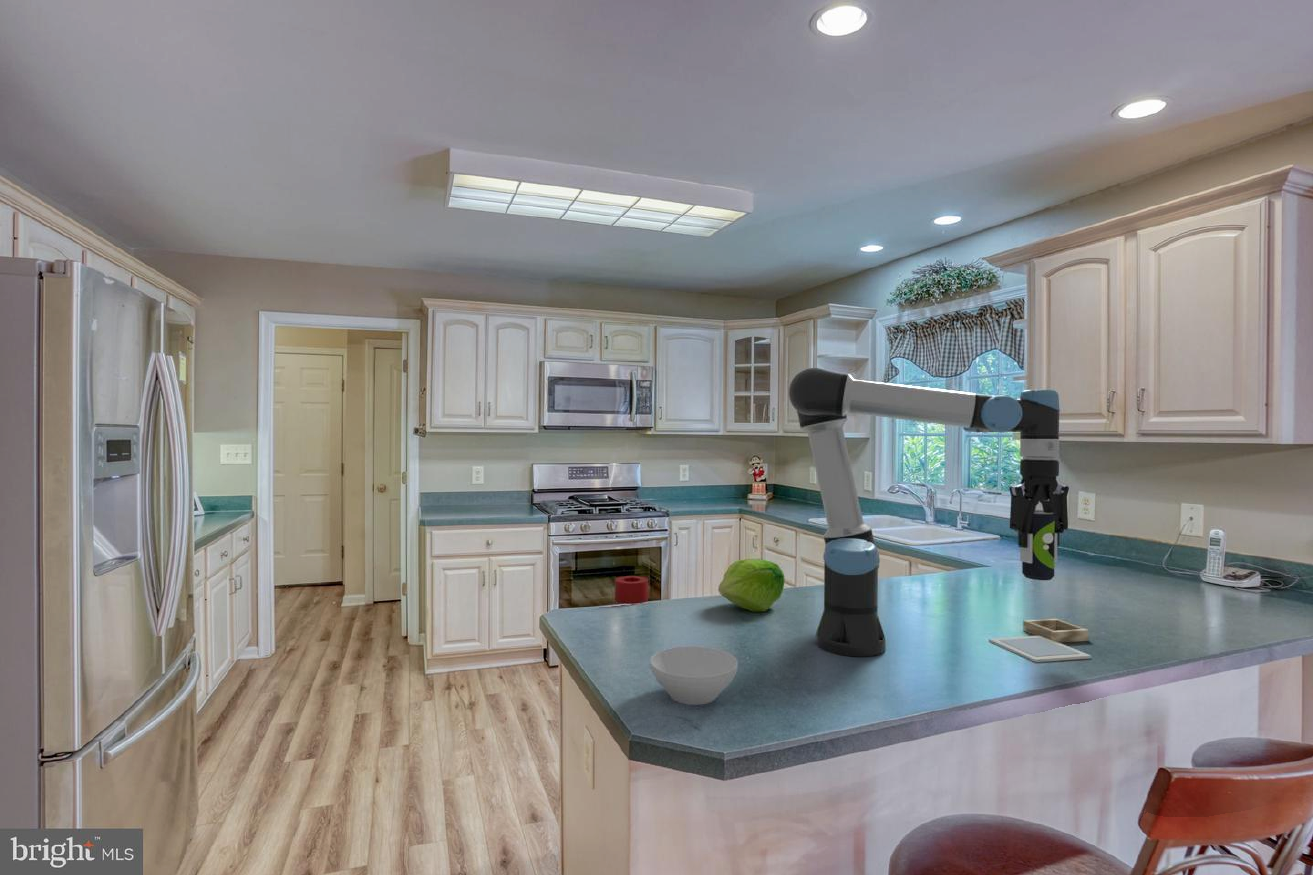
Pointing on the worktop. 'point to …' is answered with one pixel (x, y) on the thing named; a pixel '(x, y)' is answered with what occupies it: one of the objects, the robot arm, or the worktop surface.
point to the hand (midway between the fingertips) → (1038, 561)
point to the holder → (1064, 629)
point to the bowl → (693, 672)
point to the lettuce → (753, 584)
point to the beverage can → (1041, 547)
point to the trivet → (1039, 648)
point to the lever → (631, 589)
